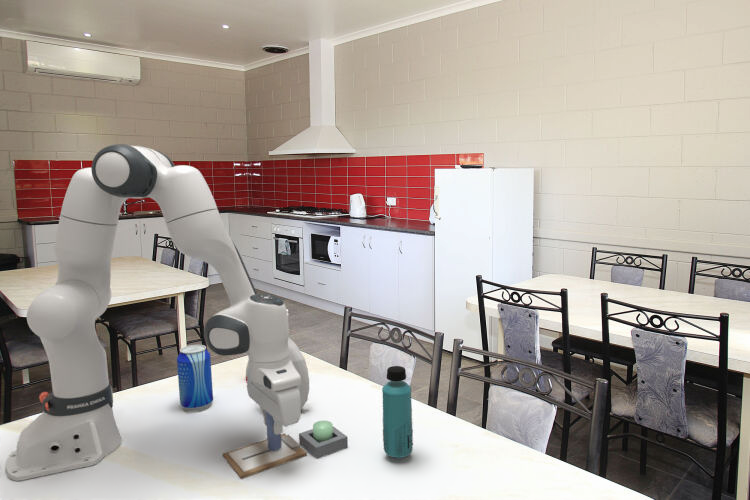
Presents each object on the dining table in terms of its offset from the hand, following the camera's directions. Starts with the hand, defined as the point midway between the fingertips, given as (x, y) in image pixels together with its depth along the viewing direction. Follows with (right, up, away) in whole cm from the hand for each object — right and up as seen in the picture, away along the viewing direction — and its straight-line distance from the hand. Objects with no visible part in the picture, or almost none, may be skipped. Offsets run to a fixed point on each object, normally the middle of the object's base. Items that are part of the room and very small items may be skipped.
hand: (273, 429), depth 116 cm
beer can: (-25, -3, +26) cm, 36 cm away
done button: (+11, -4, +3) cm, 12 cm away
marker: (0, -4, +1) cm, 4 cm away
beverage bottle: (+27, -6, -2) cm, 28 cm away
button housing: (+11, -5, +3) cm, 12 cm away
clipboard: (-2, -6, 0) cm, 6 cm away
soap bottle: (-1, -3, +23) cm, 23 cm away
